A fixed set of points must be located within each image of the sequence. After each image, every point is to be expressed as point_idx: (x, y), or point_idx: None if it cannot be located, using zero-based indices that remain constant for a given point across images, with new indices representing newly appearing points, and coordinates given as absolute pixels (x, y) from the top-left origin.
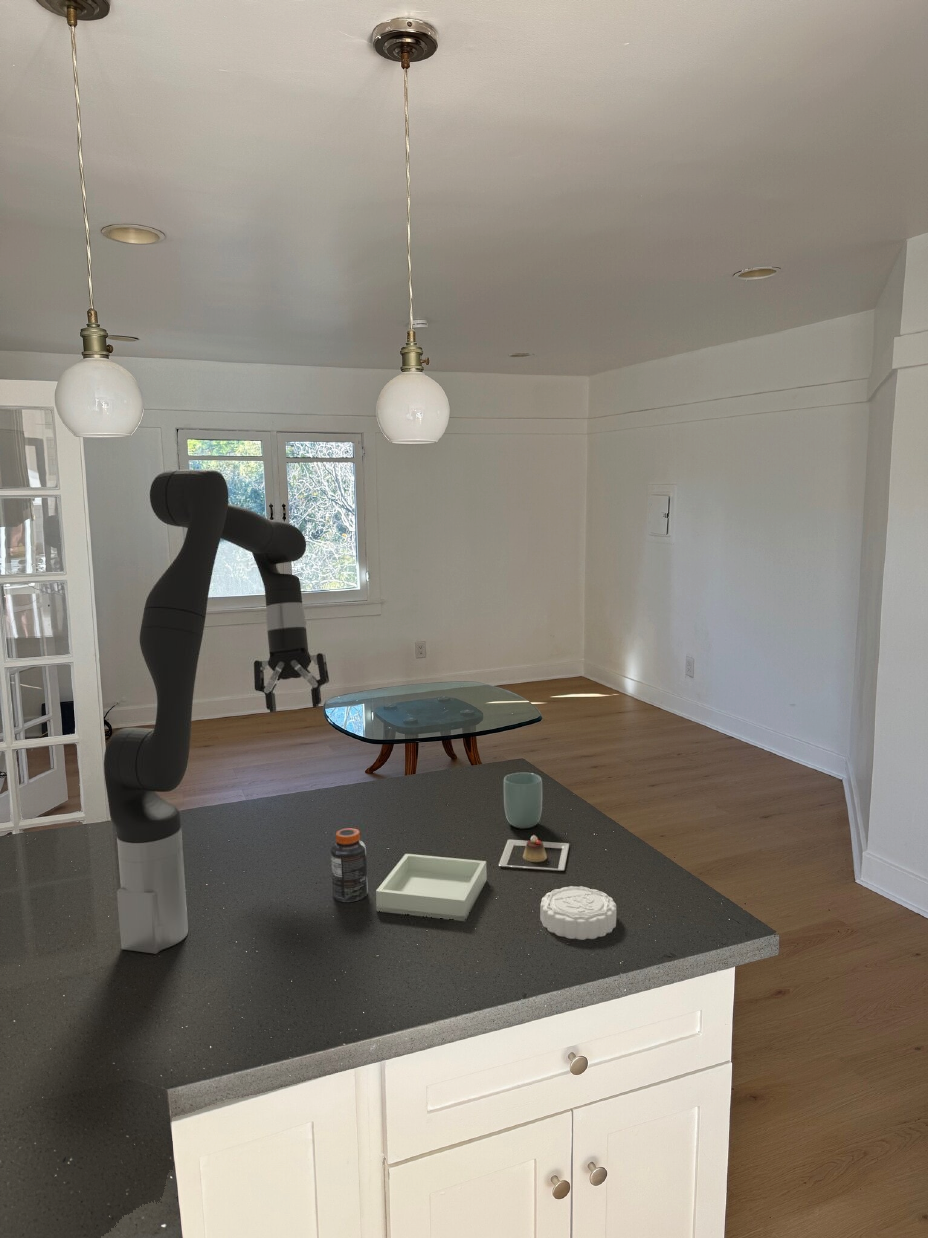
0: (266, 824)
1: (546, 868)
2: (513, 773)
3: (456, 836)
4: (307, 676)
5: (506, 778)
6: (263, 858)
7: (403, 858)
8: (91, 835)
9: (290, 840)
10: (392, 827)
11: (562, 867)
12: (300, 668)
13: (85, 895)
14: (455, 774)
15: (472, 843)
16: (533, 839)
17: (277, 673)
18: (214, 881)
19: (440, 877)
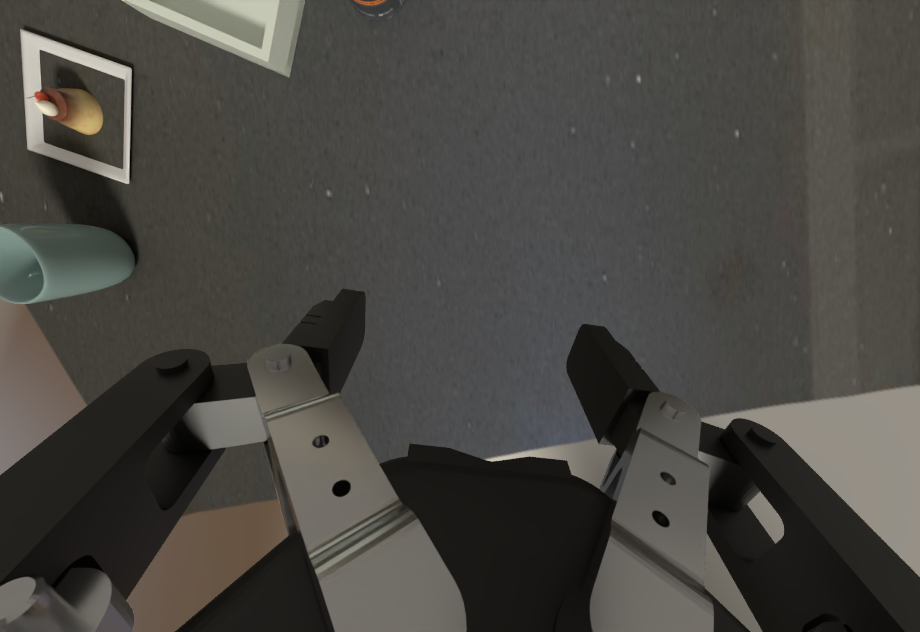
0: (542, 336)
1: (49, 40)
2: (31, 301)
3: (220, 225)
4: (295, 406)
5: (44, 280)
6: (541, 184)
7: (269, 36)
8: (852, 344)
9: (497, 257)
10: (328, 284)
11: (24, 42)
12: (331, 507)
13: (867, 59)
14: (246, 485)
15: (191, 190)
16: (44, 101)
17: (646, 506)
18: (625, 90)
19: (220, 17)
